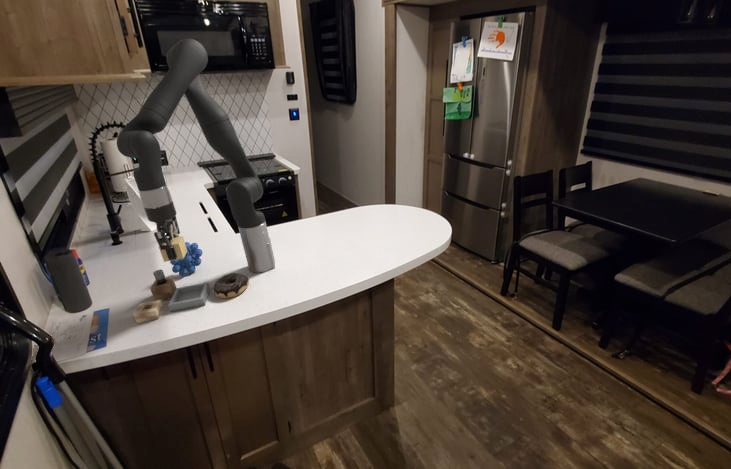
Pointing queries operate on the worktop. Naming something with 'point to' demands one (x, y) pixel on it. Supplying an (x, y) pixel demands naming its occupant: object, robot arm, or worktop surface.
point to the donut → (230, 285)
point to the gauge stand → (148, 311)
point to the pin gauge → (160, 277)
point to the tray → (189, 297)
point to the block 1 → (176, 249)
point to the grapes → (188, 260)
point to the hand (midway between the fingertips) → (175, 254)
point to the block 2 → (163, 289)
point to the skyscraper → (138, 204)
